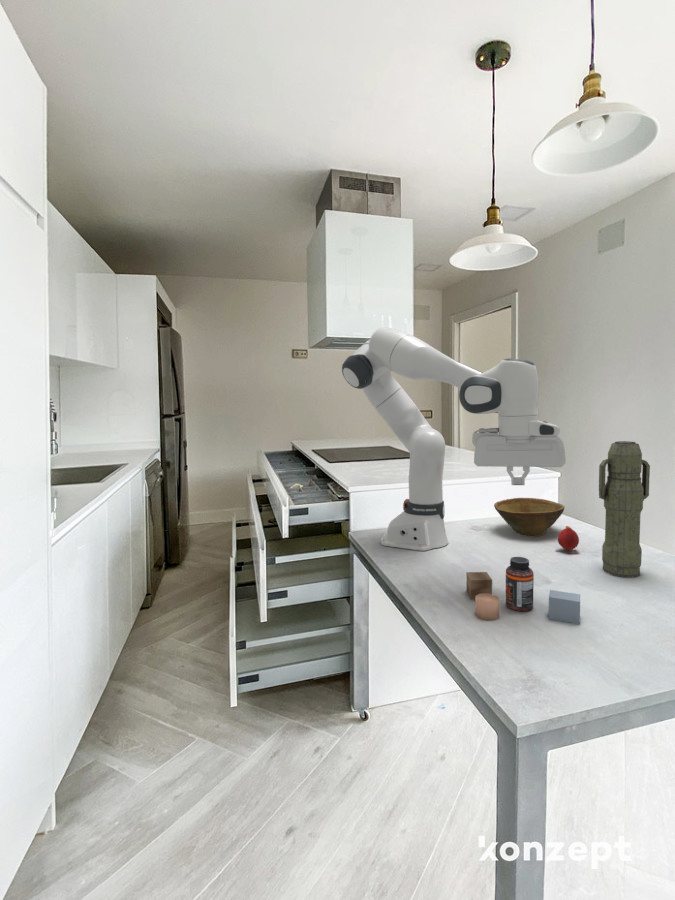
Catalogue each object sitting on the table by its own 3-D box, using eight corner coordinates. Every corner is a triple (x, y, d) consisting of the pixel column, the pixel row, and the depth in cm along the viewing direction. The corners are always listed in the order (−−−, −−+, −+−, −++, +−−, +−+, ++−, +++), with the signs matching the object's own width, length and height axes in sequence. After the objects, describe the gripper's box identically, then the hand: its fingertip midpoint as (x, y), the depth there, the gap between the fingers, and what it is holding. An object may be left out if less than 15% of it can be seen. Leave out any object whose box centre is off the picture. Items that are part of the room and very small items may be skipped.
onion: (574, 548, 142) (574, 523, 141) (582, 554, 136) (582, 528, 135) (554, 548, 142) (554, 523, 141) (561, 554, 136) (562, 528, 136)
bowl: (488, 523, 172) (488, 497, 170) (552, 523, 168) (552, 497, 167) (501, 542, 150) (501, 512, 149) (574, 542, 147) (575, 512, 146)
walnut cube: (471, 600, 109) (470, 580, 109) (466, 591, 114) (466, 572, 114) (492, 599, 109) (492, 579, 108) (486, 591, 114) (486, 571, 113)
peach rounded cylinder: (475, 619, 100) (474, 601, 99) (475, 608, 105) (475, 592, 104) (499, 621, 98) (499, 604, 98) (498, 611, 103) (498, 594, 103)
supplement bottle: (501, 601, 108) (501, 555, 106) (525, 599, 108) (525, 553, 107) (512, 613, 102) (513, 564, 100) (538, 611, 102) (538, 562, 101)
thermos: (654, 576, 118) (660, 442, 114) (609, 578, 118) (613, 444, 114) (632, 564, 127) (636, 439, 123) (590, 566, 127) (593, 441, 123)
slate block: (548, 618, 99) (548, 596, 98) (549, 611, 102) (550, 589, 102) (579, 624, 96) (580, 601, 95) (580, 616, 99) (580, 594, 99)
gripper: (471, 429, 108) (472, 486, 109) (567, 427, 101) (566, 488, 103) (472, 427, 114) (473, 481, 115) (563, 425, 107) (562, 483, 109)
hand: (517, 484), depth 109 cm, fingers closed
